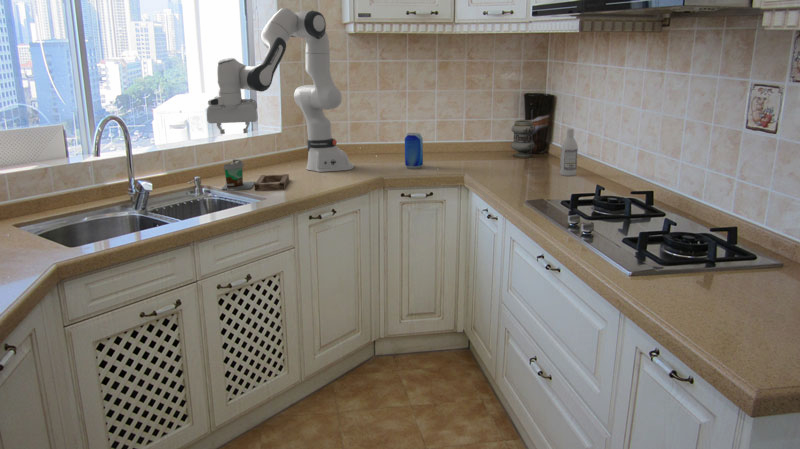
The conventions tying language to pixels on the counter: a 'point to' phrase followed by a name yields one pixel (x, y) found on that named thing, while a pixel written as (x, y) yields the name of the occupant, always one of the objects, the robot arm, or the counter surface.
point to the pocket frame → (282, 184)
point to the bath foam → (568, 155)
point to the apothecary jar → (523, 138)
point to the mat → (245, 186)
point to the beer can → (413, 150)
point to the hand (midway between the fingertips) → (234, 133)
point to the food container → (234, 173)
